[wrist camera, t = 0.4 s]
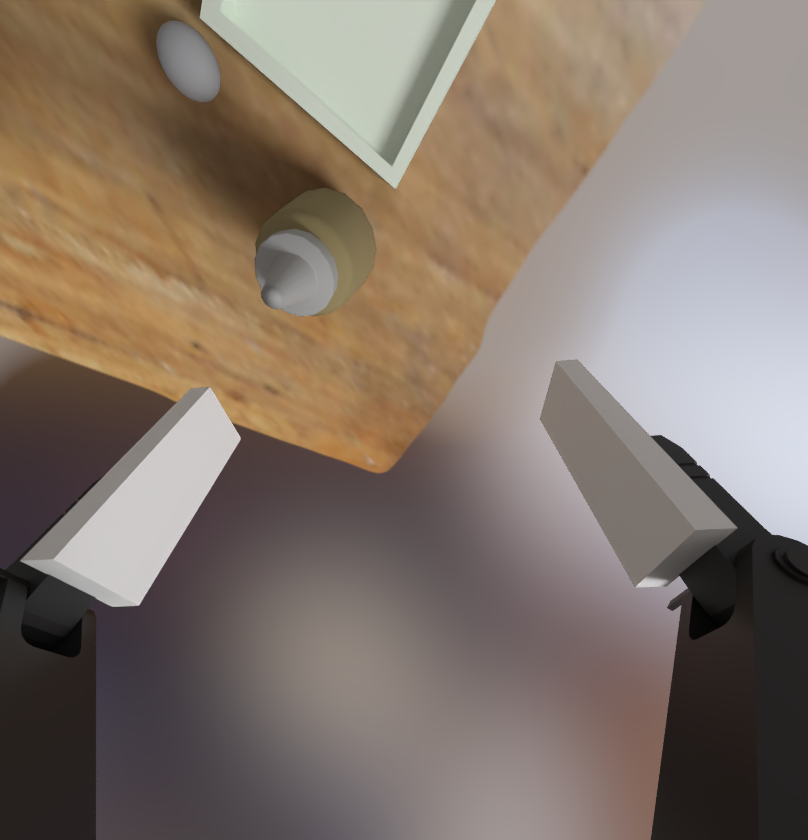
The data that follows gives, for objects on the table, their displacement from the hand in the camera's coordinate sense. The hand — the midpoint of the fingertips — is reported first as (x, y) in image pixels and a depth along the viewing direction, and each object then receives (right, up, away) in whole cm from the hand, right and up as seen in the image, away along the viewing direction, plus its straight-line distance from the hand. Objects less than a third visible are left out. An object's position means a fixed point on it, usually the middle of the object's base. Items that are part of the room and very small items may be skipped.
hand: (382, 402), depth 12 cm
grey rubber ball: (-14, +25, +10) cm, 31 cm away
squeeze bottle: (-6, +17, +17) cm, 25 cm away
